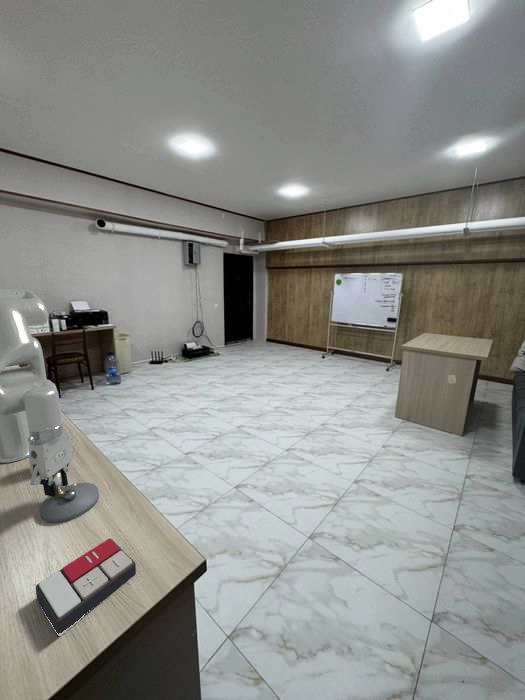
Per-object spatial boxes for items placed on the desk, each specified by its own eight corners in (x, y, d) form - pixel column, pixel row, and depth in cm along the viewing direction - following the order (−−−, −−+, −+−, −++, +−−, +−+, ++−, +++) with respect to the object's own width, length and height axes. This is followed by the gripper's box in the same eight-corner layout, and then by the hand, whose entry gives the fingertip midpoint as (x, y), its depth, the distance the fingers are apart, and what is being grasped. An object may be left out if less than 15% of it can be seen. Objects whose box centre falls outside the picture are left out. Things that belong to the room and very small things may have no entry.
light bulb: (78, 494, 84) (75, 473, 83) (69, 502, 82) (66, 480, 80) (55, 489, 86) (52, 468, 85) (46, 496, 84) (42, 474, 82)
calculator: (136, 560, 63) (56, 619, 51) (137, 577, 64) (58, 639, 52) (110, 534, 70) (34, 582, 58) (111, 550, 71) (36, 600, 59)
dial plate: (49, 493, 88) (48, 488, 87) (101, 482, 93) (101, 477, 92) (33, 529, 75) (32, 524, 75) (95, 514, 80) (94, 509, 80)
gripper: (32, 449, 71) (44, 513, 75) (81, 419, 87) (89, 473, 91) (5, 447, 72) (18, 510, 76) (59, 417, 88) (67, 471, 92)
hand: (56, 489), depth 84 cm, fingers open, 3 cm apart
